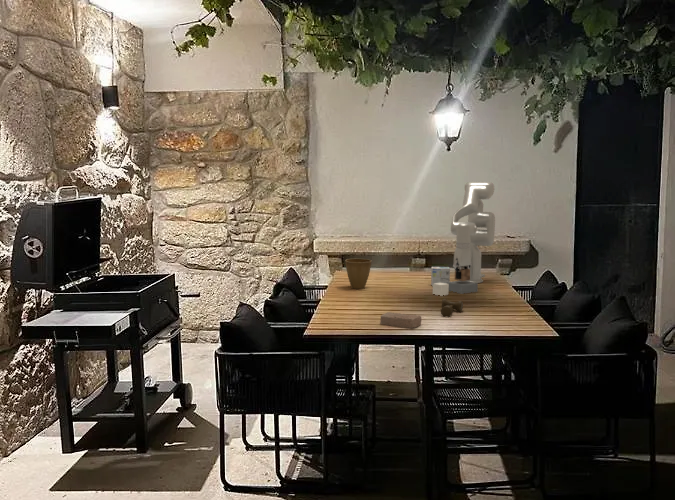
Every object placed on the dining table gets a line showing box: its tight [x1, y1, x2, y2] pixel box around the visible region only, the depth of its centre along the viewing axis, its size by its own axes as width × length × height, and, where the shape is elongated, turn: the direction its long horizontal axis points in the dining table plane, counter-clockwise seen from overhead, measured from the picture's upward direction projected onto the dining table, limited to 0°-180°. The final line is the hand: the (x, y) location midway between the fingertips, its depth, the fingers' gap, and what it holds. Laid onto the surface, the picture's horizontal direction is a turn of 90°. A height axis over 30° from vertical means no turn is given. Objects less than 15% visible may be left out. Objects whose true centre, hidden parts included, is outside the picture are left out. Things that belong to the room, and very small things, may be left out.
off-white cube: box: [432, 283, 450, 297], centre depth 349 cm, size 6×6×6 cm
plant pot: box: [345, 258, 373, 290], centre depth 367 cm, size 15×15×16 cm
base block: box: [447, 280, 479, 295], centre depth 359 cm, size 12×12×5 cm
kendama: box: [440, 298, 464, 317], centre depth 305 cm, size 6×10×20 cm
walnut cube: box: [454, 267, 470, 281], centre depth 358 cm, size 6×6×6 cm
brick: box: [379, 312, 422, 329], centre depth 281 cm, size 17×8×5 cm, turn 58°
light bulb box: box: [430, 266, 451, 287], centre depth 375 cm, size 11×7×11 cm, turn 84°
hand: (462, 277), depth 358 cm, fingers closed on walnut cube, 5 cm apart
